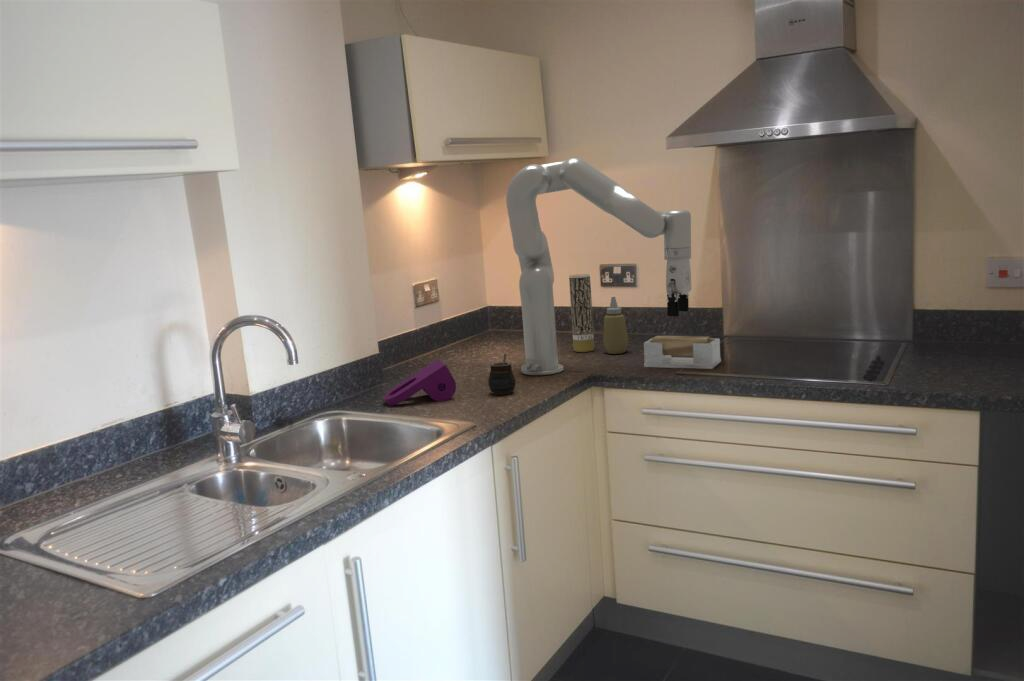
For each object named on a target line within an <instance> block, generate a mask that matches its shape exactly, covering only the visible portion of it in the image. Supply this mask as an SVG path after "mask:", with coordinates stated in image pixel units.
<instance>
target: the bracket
mask: <svg viewBox="0 0 1024 681" xmlns="http://www.w3.org/2000/svg"><path fill="white" fill-rule="evenodd" d="M652 338H653V337H652ZM652 338H650V339H647V341H645V342H643V353H644V354H643V355H644V356H643V357H644V358H643V359H644V363H643V368H665V369H666V368H668V369H669V368H671V369H698V370H699V369H703V370H707V369H708V370H713V369H714V368H715V367H717V366H718V365H719V364H720V363H721V362H722V358H721V340H720V338H716V337H715V338H714V337H713V338H712V337H710V343H693V356H692V357H685V356H684V357H683V356H682V357H681V356H678V357H676V356H675V357H674V356H673V357H672V355H664V347H663V342H652Z"/></svg>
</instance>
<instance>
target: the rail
mask: <svg viewBox="0 0 1024 681" xmlns="http://www.w3.org/2000/svg"><path fill="white" fill-rule="evenodd" d="M710 338H711V336H708V335H705V336H704V335H701V336H699V335H656V336H654V337H652V342H663V347H664V355H671V356H675V357H676V356H678V357H681V356H682V357H683V356H684V357H686V356H687V357H688V356H689V357H693V343H710Z"/></svg>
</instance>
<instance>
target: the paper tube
mask: <svg viewBox="0 0 1024 681" xmlns="http://www.w3.org/2000/svg"><path fill="white" fill-rule="evenodd" d="M568 282H569V296H570V298H569V299H570V312H571V313H570V315H571V328H572V331H571V332H572V344H573V351H574V352H576V353H587V352H592V351H594V349H595V341H594V340H595V338H594V322H593V306H592V305H593V302H592V288H591V286H592V283H591V275H590V273H579V274H578V273H576V274H570V275H569V276H568Z"/></svg>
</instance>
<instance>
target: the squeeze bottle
mask: <svg viewBox="0 0 1024 681" xmlns="http://www.w3.org/2000/svg"><path fill="white" fill-rule="evenodd" d="M628 337H629V335H628V331H627V324H626V317H625V315H624V314H622V307H619V306H618V302H617V298H616V296H612V297H611V299H610V305H609V307H607V308H606V315H604V317H603V341H602V343H603V345H604V349H605V351H606V353H607V354H609V355H610V354H611V355H620V354H624V353H625V352H626V351H627V347H628V344H629V338H628Z"/></svg>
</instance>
